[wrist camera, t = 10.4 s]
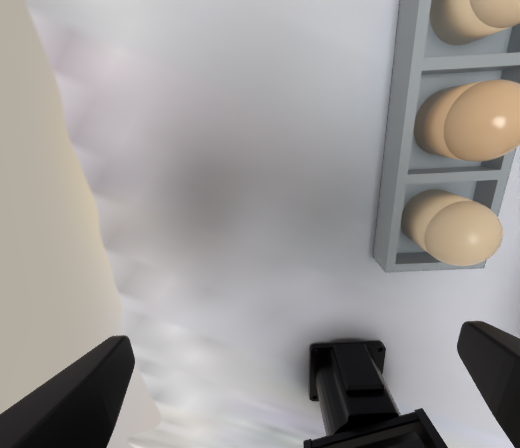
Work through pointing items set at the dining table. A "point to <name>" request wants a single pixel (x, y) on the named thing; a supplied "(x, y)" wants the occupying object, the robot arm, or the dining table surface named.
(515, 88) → the egg
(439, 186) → the carton
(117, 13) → the dining table surface
